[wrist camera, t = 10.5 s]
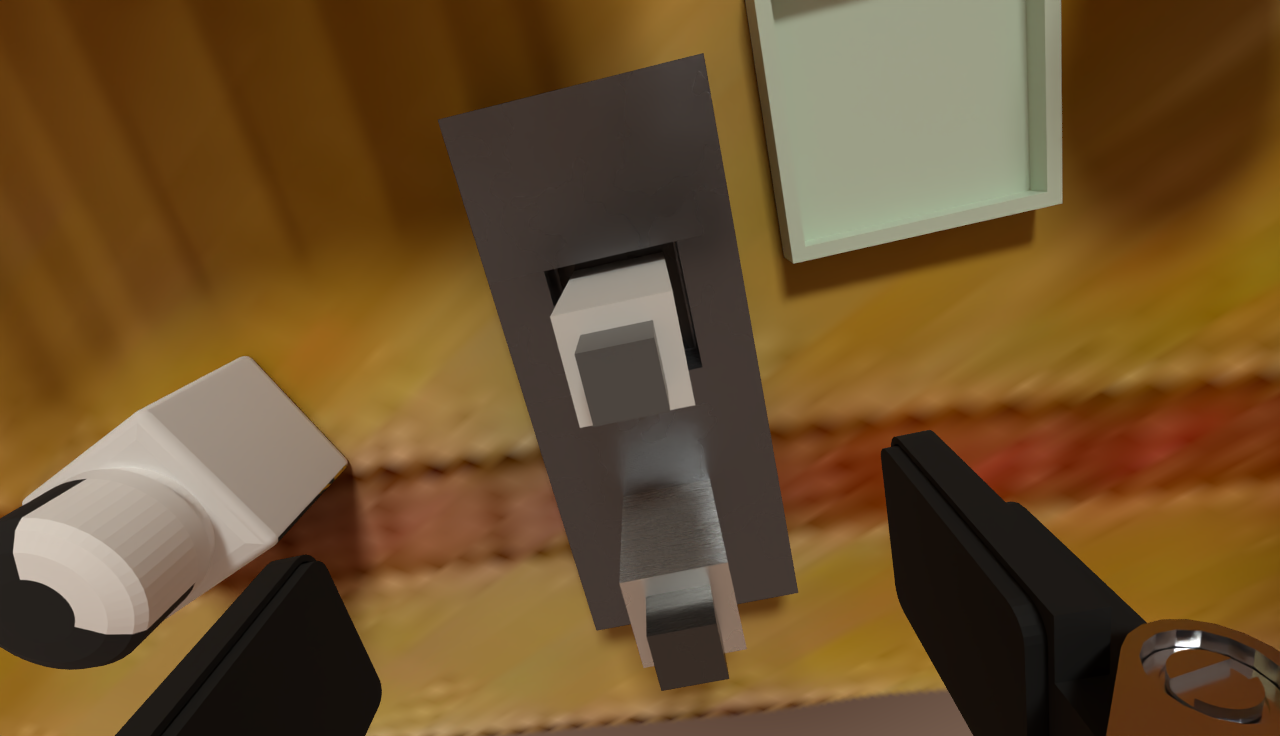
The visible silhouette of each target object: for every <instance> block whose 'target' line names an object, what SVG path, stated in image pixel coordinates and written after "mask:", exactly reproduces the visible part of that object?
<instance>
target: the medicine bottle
mask: <svg viewBox="0 0 1280 736" xmlns="http://www.w3.org/2000/svg"><path fill="white" fill-rule="evenodd" d="M347 465H348V461H347V459H346V458H345V457H344V456H343V455H342V454H341V453H340V451H339V450H338V449H337V448H336V447H335V446H334V445H333V444H332V443H331V442H330V441H329V440H328V439H327V438H326V437H325V436H324V434H323V433H322V432H321V431H320V430H319V429H318V428H317V427H316V426H315V425H314V424H313V423H312V422H311V421H310V420H309V419H308V417H307V416H306V415H305V414H304V413H303V412H302V411H301V410H300V409H299V408H298V407H297V406H296V405H295V404H294V403H293V402H292V400H291V399H290V398H289V397H288V396H287V395H286V394H285V393H284V392H283V391H282V390H281V389H280V388H279V387H278V386H277V385H276V383H275V382H274V381H273V380H272V379H271V378H270V377H269V376H268V375H267V374H266V373H265V372H264V371H263V370H262V369H261V368H260V366H259V365H258V364H257V363H256V362H255V361H254V360H253V359H252V358H250V357H248V356H243V357H240V358H238V359H236V360H234V361H232V362H230V363H228V364H226V365H224V366H222V367H221V368H219V369H217V370H215V371H213V372H211V373H209V374H207V375H205V376H203V377H201V378H200V379H198V380H196V381H194V382H192V383H190V384H188V385H186V386H184V387H182V388H180V389H179V390H177V391H175V392H173V393H171V394H169V395H167V396H165V397H163V398H161V399H159V400H158V401H156V402H154V403H152V404H150V405H148V406H146V407H144V408H142V409H140V410H138V411H137V412H135V413H134V414H133V415H132V416H130V417H129V418H128V419H126V420H125V421H124V422H123V423H121V424H120V425H119V426H117V427H116V428H115V429H114V430H112V431H111V432H110V433H108V434H107V435H106V436H104V437H103V438H102V439H101V440H99V441H98V442H97V443H95V444H94V445H93V446H92V447H90V448H89V449H88V450H86V451H85V452H84V453H83V454H81V455H80V456H79V457H77V458H76V459H75V460H74V461H72V462H71V463H70V464H68V465H67V466H66V467H64V468H63V469H62V470H61V471H59V472H58V473H57V474H55V475H54V476H53V477H52V478H50V479H49V480H48V481H46V482H45V483H44V484H43V485H41V486H40V487H39V488H37V489H36V490H35V491H33V492H32V493H31V494H30V495H28V496H27V497H26V498H25V499H24V500H23V502H22V505H23V506H21V507H19V508H18V509H16V510H14V511H12V512H11V513H9V514H7V515H6V516H4V517H2V518H0V647H1V648H3V649H5V650H6V651H8V652H10V653H11V654H13V655H15V656H17V657H20V658H22V659H24V660H27V661H29V662H32V663H35V664H38V665H42V666H46V667H51V668H57V669H69V670H71V669H85V668H91V667H98V666H103V665H107V664H110V663H113V662H116V661H118V660H120V659H122V658H124V657H125V656H127V655H128V654H130V653H131V652H132V651H133V650H134V649H135V648H136V647H137V646H138V645H139V644H140V643H141V642H142V641H143V640H144V639H145V638H146V637H147V636H148V635H149V634H150V633H151V632H152V631H153V630H154V629H155V628H156V627H157V626H158V625H159V624H160V623H161V622H162V621H164V620H165V619H166V618H168V617H169V616H171V615H172V614H174V613H175V612H177V611H178V610H180V609H181V608H183V607H184V606H186V605H187V604H189V603H190V602H192V601H193V600H195V599H196V598H198V597H199V596H201V595H202V594H203V593H205V592H206V591H208V590H209V589H211V588H212V587H214V586H215V585H217V584H218V583H220V582H221V581H223V580H224V579H226V578H227V577H229V576H230V575H232V574H233V573H235V572H236V571H237V570H239V569H240V568H242V567H243V566H245V565H246V564H248V563H249V562H251V561H252V560H254V559H255V558H257V557H258V556H260V555H261V554H263V553H264V552H266V551H267V550H269V549H270V548H271V547H273V546H274V545H276V544H277V543H278V542H279V540H280V539H281V538H282V537H283V536H284V535H285V534H286V533H287V532H288V531H289V530H290V528H291V527H292V526H293V525H294V524H295V523H296V522H297V521H298V520H299V519H300V517H301V516H302V515H303V514H304V513H305V512H306V511H307V510H308V509H309V508H310V507H311V505H312V504H313V503H314V502H315V501H316V500H317V499H318V498H319V497H320V496H321V495H322V493H323V492H324V491H325V490H326V489H327V488H328V487H329V486H330V485H331V484H332V483H333V481H334V480H335V479H336V478H337V477H338V476H339V475H340V474H341V473H342V472H343V471H344V469H345V468H346V467H347Z"/></svg>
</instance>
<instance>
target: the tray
mask: <svg viewBox="0 0 1280 736" xmlns="http://www.w3.org/2000/svg"><path fill="white" fill-rule="evenodd" d="M745 4H746V11H747V17H748V24H749V30H750V37H751V43H752V50H753V57H754V63H755V70H756V76H757V83H758V89H759V96H760V103H761V109H762V116H763V122H764V129H765V135H766V142H767V148H768V155H769V162H770V168H771V175H772V181H773V188H774V194H775V201H776V208H777V214H778V221H779V227H780V234H781V240H782V247H783V254H784V257H785V258H786V259H788V260H789V261H790V262H792V263H793V264H794V263H799V262H803V261H808V260H812V259H817V258H821V257H826V256H830V255H834V254H839V253H843V252H848V251H852V250H857V249H861V248H866V247H870V246H875V245H879V244H883V243H888V242H892V241H897V240H901V239H906V238H910V237H915V236H919V235H924V234H928V233H932V232H937V231H941V230H946V229H950V228H955V227H959V226H964V225H968V224H973V223H977V222H981V221H986V220H990V219H995V218H999V217H1004V216H1008V215H1013V214H1017V213H1022V212H1026V211H1030V210H1035V209H1039V208H1044V207H1048V206H1053V205H1057V204H1062V66H1061V0H745Z"/></svg>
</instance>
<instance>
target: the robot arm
mask: <svg viewBox="0 0 1280 736" xmlns="http://www.w3.org/2000/svg"><path fill="white" fill-rule="evenodd" d="M881 461H882V470H883V479H884V488H885V497H886V506H887V515H888V524H889V533H890V541H891V550H892V559H893V568H894V577H895V586H896V591H897V595H898V599H899V602H900V604H901V607H902V609H903V611H904V613H905V615H906V617H907V619H908V620H909V622H910V624H911V626H912V627H913V629H914V631H915V633H916V634H917V636H918V638H919V640H920V642H921V643H922V645H923V647H924V649H925V650H926V652H927V654H928V656H929V658H930V659H931V661H932V663H933V665H934V666H935V668H936V670H937V672H938V674H939V675H940V677H941V679H942V681H943V682H944V684H945V686H946V688H947V690H948V691H949V693H950V695H951V697H952V698H953V700H954V702H955V704H956V706H957V707H958V709H959V711H960V713H961V714H962V716H963V718H964V720H965V721H966V723H967V725H968V727H969V729H970V730H971V732H972V734H973V736H1280V652H1279V651H1277V650H1276V649H1275V648H1273V647H1272V646H1269V645H1267V644H1265V643H1263V642H1261V641H1259V640H1257V639H1255V638H1253V637H1251V636H1249V635H1247V634H1245V633H1242V632H1239V631H1236V630H1233V629H1229V628H1226V627H1223V626H1220V625H1217V624H1213V623H1207V622H1200V621H1194V620H1188V619H1166V620H1158V621H1154V622H1150V623H1146V622H1145V621H1144V620H1143V619H1142V618H1141V617H1140V616H1139V615H1138V614H1137V613H1136V612H1135V611H1134V610H1133V609H1132V608H1131V607H1130V606H1128V605H1127V604H1126V603H1125V602H1124V601H1123V600H1122V599H1121V598H1120V597H1119V596H1118V595H1117V594H1116V593H1115V592H1114V591H1113V590H1112V589H1110V588H1109V587H1108V586H1107V585H1106V584H1105V583H1104V582H1103V581H1102V580H1101V579H1100V578H1099V577H1098V576H1097V575H1096V574H1095V573H1094V572H1092V571H1091V570H1090V569H1089V568H1088V567H1087V566H1086V565H1085V564H1084V563H1083V562H1082V561H1081V560H1080V559H1079V558H1078V557H1077V556H1076V555H1074V554H1073V553H1072V552H1071V551H1070V550H1069V549H1068V548H1067V547H1066V546H1065V545H1064V544H1063V543H1062V542H1061V541H1060V540H1059V539H1058V538H1056V537H1055V536H1054V535H1053V534H1052V533H1051V532H1050V531H1049V530H1048V529H1047V528H1046V527H1045V526H1044V525H1043V524H1042V523H1041V522H1040V521H1038V520H1037V519H1036V518H1035V517H1034V516H1033V515H1032V514H1031V513H1030V512H1029V511H1028V510H1027V509H1026V508H1024V507H1023V506H1022V505H1020V504H1019V503H1016V502H1005V501H1004V500H1003V499H1002V498H1001V497H1000V496H999V495H997V494H996V493H995V492H994V491H993V490H992V489H991V488H990V487H989V486H988V485H987V484H986V483H985V482H984V481H983V480H982V479H981V478H980V477H979V476H978V475H977V474H976V473H975V472H974V471H973V470H972V469H971V468H970V467H969V466H968V465H967V464H966V463H965V462H964V461H963V460H962V459H961V458H960V457H959V456H958V455H957V454H956V453H955V452H954V451H953V450H952V449H951V448H950V447H949V446H947V445H946V444H945V443H944V442H943V441H942V440H941V439H940V438H939V437H938V436H937V435H936V434H935V433H934V432H933V431H931V430H927V431H922V432H917V433H912V434H907V435H902V436H897V437H893V439H892V442H891V447H889V448H884V449H882V451H881ZM381 695H382V689H381V683H380V680H379V677H378V675H377V673H376V671H375V669H374V667H373V665H372V663H371V660H370V658H369V656H368V654H367V652H366V650H365V648H364V646H363V644H362V641H361V639H360V637H359V635H358V633H357V631H356V629H355V627H354V624H353V622H352V620H351V618H350V616H349V614H348V612H347V610H346V607H345V605H344V603H343V601H342V599H341V597H340V595H339V593H338V590H337V588H336V586H335V584H334V582H333V580H332V578H331V576H330V573H329V571H328V569H327V567H326V566H325V564H323V563H322V562H320V561H316V560H315V559H314V558H313V557H312V556H310V555H301V556H296V557H291V558H286V559H281V560H276V561H272V562H270V563H269V564H268V565H267V566H266V567H265V568H264V569H263V570H262V571H261V572H260V573H259V574H258V576H257V577H256V578H255V579H254V580H253V581H252V582H251V583H250V585H249V586H248V587H247V588H246V589H245V590H244V591H243V592H242V594H241V595H240V596H239V597H238V598H237V599H236V600H235V601H234V603H233V604H232V605H231V606H230V607H229V608H228V609H227V610H226V611H225V613H224V614H223V615H222V616H221V617H220V618H219V619H218V620H217V622H216V623H215V624H214V625H213V626H212V627H211V628H210V629H209V631H208V632H207V633H206V634H205V635H204V636H203V637H202V638H201V640H200V641H199V642H198V643H197V644H196V645H195V646H194V647H193V649H192V650H191V651H190V652H189V653H188V654H187V655H186V656H185V657H184V659H183V660H182V661H181V662H180V663H179V664H178V665H177V666H176V668H175V669H174V670H173V671H172V672H171V673H170V674H169V675H168V677H167V678H166V679H165V680H164V681H163V682H162V683H161V684H160V686H159V687H158V688H157V689H156V690H155V691H154V692H153V693H152V695H151V696H150V697H149V698H148V699H147V700H146V701H145V702H144V704H143V705H142V706H141V707H140V708H139V709H138V710H137V711H136V712H135V714H134V715H133V716H132V717H131V718H130V719H129V720H128V721H127V723H126V724H125V725H124V726H123V727H122V728H121V729H120V730H119V732H118V733H117V734H116V735H115V736H365V735H366V733H367V730H368V728H369V726H370V724H371V722H372V720H373V718H374V715H375V713H376V711H377V709H378V707H379V704H380V701H381Z"/></svg>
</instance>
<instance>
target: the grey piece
mask: <svg viewBox="0 0 1280 736" xmlns="http://www.w3.org/2000/svg"><path fill="white" fill-rule="evenodd" d="M438 122H439V126H440V129H441V132H442V135H443V138H444V142H445V145H446V148H447V151H448V154H449V158H450V161H451V164H452V167H453V171H454V174H455V177H456V180H457V183H458V187H459V190H460V193H461V196H462V199H463V203H464V206H465V209H466V212H467V216H468V219H469V222H470V225H471V228H472V232H473V235H474V238H475V241H476V245H477V248H478V251H479V254H480V257H481V261H482V264H483V267H484V270H485V273H486V277H487V280H488V283H489V286H490V290H491V293H492V296H493V299H494V302H495V306H496V309H497V312H498V315H499V318H500V322H501V325H502V328H503V331H504V335H505V338H506V341H507V344H508V347H509V351H510V354H511V357H512V360H513V364H514V367H515V370H516V373H517V376H518V380H519V383H520V386H521V389H522V392H523V396H524V399H525V402H526V405H527V409H528V412H529V415H530V418H531V421H532V425H533V428H534V431H535V434H536V437H537V441H538V444H539V447H540V450H541V454H542V457H543V460H544V463H545V466H546V470H547V473H548V476H549V479H550V483H551V486H552V489H553V492H554V495H555V499H556V502H557V505H558V508H559V511H560V515H561V518H562V521H563V524H564V528H565V531H566V534H567V537H568V540H569V544H570V547H571V550H572V553H573V557H574V560H575V563H576V566H577V569H578V573H579V576H580V579H581V582H582V585H583V589H584V592H585V595H586V598H587V602H588V605H589V608H590V611H591V614H592V618H593V621H594V624H595V627H596V630H602V629H607V628H613V627H618V626H623V625H629V624H631V626H632V629H633V633H634V636H635V639H636V643H637V646H638V650H639V653H640V657H641V660H642V664H643V667H644V668H646V667H651V666H655V669H656V673H657V677H658V680H659V684H660V687H661V691H664V690H669V689H675V688H680V687H686V686H691V685H697V684H703V683H708V682H714V681H719V680H725V679H729V674H728V668H727V662H726V656H725V653H728V652H733V651H739V650H744V649H746V644H745V639H744V635H743V630H742V625H741V621H740V616H739V612H738V607H737V604H741V603H746V602H751V601H757V600H762V599H767V598H773V597H778V596H783V595H789V594H794V593H798V589H797V583H796V577H795V572H794V566H793V560H792V555H791V549H790V543H789V537H788V532H787V526H786V520H785V515H784V509H783V503H782V498H781V492H780V486H779V481H778V475H777V469H776V463H775V458H774V452H773V446H772V441H771V435H770V429H769V424H768V418H767V412H766V407H765V401H764V395H763V389H762V384H761V378H760V372H759V367H758V361H757V355H756V350H755V344H754V338H753V333H752V327H751V321H750V315H749V310H748V304H747V298H746V293H745V287H744V281H743V276H742V270H741V264H740V259H739V253H738V247H737V241H736V236H735V230H734V224H733V219H732V213H731V207H730V202H729V196H728V190H727V185H726V179H725V173H724V167H723V162H722V156H721V150H720V145H719V139H718V133H717V128H716V122H715V116H714V111H713V105H712V99H711V93H710V88H709V82H708V76H707V71H706V65H705V59H704V54H703V53H702V54H698V55H694V56H690V57H686V58H682V59H678V60H674V61H670V62H666V63H662V64H658V65H654V66H650V67H646V68H642V69H638V70H634V71H630V72H626V73H622V74H618V75H615V76H611V77H607V78H603V79H599V80H595V81H591V82H587V83H583V84H579V85H575V86H571V87H567V88H563V89H559V90H555V91H551V92H547V93H543V94H539V95H535V96H531V97H527V98H523V99H519V100H515V101H511V102H507V103H503V104H499V105H495V106H491V107H487V108H483V109H479V110H475V111H471V112H467V113H463V114H459V115H455V116H451V117H447V118H443V119H439V120H438ZM660 252H663V254H664V258H665V262H666V267H667V271H668V275H669V279H670V283H671V287H672V291H673V296H674V301H675V306H676V311H677V316H678V321H679V326H680V331H681V336H682V341H683V346H684V351H685V356H686V361H687V366H688V371H689V376H690V381H691V386H692V391H693V396H694V401H695V405H693V406H688V407H683V408H678V409H673V410H670V412H667V413H662V414H657V415H651V416H646V417H641V418H636V419H631V420H626V421H621V422H616V423H611V424H606V425H601V426H596V427H593V426H588V427H582V428H580V426H579V422H578V419H577V415H576V411H575V408H574V404H573V400H572V396H571V393H570V389H569V385H568V381H567V378H566V374H565V370H564V367H563V363H562V359H561V355H560V352H559V348H558V344H557V341H556V337H555V333H554V329H553V326H552V322H551V318H550V316H551V314H552V312H553V310H554V308H555V306H556V304H557V302H558V300H559V299H560V297H561V295H562V293H563V291H564V289H565V287H566V285H567V283H568V281H569V279H570V277H571V276H572V274H573V272H574V271H576V270H581V269H585V268H590V267H595V266H599V265H604V264H609V263H613V262H618V261H623V260H627V259H632V258H637V257H641V256H646V255H650V254H655V253H660Z"/></svg>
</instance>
